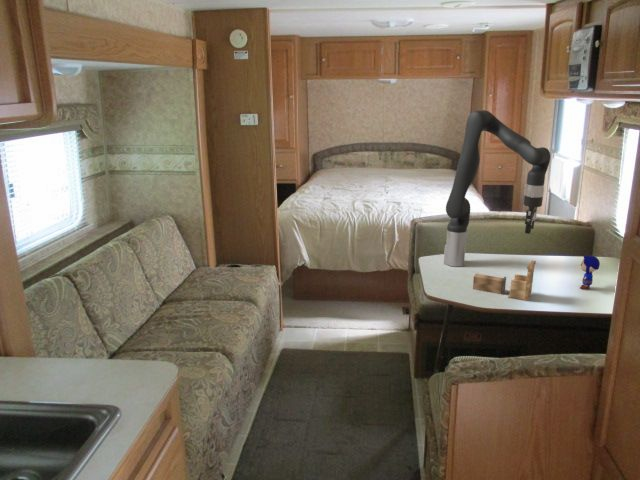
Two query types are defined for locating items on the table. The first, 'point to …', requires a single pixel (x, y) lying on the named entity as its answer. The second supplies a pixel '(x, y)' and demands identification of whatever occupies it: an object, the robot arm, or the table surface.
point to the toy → (589, 270)
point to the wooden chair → (522, 284)
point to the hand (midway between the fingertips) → (529, 230)
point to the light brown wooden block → (489, 283)
